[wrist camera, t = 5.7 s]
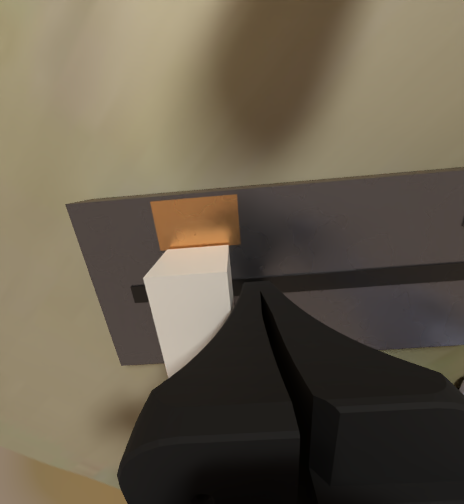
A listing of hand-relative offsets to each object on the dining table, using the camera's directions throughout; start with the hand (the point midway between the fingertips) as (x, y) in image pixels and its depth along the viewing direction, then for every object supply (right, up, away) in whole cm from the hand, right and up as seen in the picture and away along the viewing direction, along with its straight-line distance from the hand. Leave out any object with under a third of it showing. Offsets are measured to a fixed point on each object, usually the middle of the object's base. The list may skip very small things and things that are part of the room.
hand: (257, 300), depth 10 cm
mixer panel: (+3, +1, +3) cm, 5 cm away
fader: (-3, 0, +1) cm, 3 cm away
